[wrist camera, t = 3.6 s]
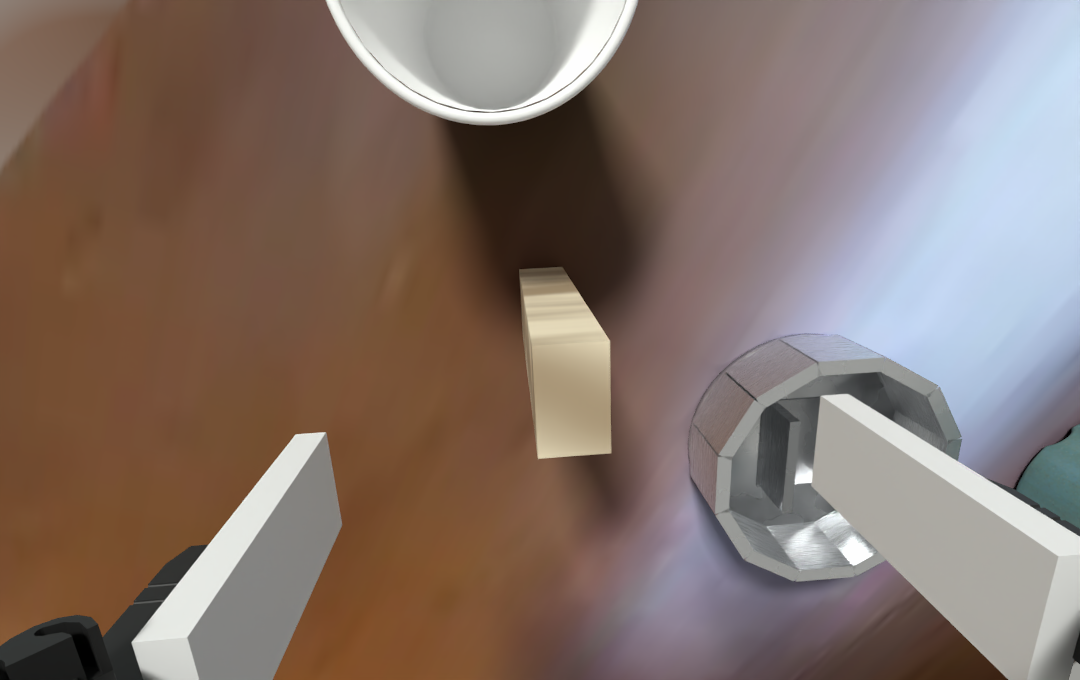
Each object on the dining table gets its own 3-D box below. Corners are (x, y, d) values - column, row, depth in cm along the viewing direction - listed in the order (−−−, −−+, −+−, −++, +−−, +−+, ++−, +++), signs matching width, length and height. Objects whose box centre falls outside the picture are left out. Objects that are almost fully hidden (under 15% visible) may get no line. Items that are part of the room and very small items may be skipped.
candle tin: (691, 340, 34) (722, 368, 29) (912, 326, 34) (978, 351, 30) (684, 536, 38) (711, 589, 33) (883, 520, 39) (937, 569, 34)
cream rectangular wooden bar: (519, 269, 32) (531, 345, 18) (562, 266, 32) (609, 340, 18) (522, 335, 33) (537, 458, 19) (564, 333, 33) (611, 453, 19)
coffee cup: (631, 33, 29) (715, -61, 17) (499, 185, 31) (497, 190, 19) (480, -133, 26) (462, -370, 15) (347, 42, 28) (239, -49, 17)
